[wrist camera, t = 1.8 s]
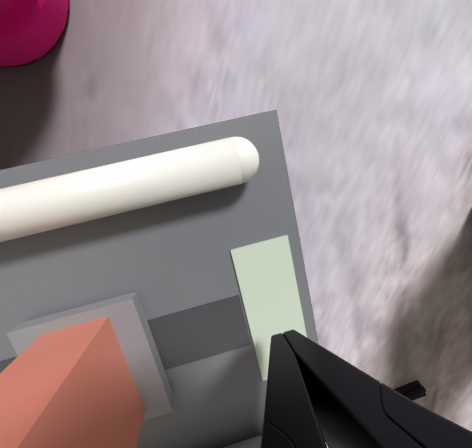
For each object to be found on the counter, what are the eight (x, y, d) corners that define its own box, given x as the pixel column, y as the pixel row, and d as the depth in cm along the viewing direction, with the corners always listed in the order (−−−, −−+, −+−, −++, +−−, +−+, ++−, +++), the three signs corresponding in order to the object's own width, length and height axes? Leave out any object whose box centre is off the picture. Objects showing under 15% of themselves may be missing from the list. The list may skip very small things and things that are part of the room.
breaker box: (254, 130, 13) (291, 95, 7) (303, 376, 16) (354, 476, 11) (-112, 212, 11) (-401, 243, 6) (27, 463, 15) (-77, 630, 9)
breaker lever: (136, 291, 9) (50, 437, 4) (174, 398, 10) (144, 621, 5) (18, 322, 9) (-242, 527, 4) (70, 430, 10) (-74, 703, 5)
